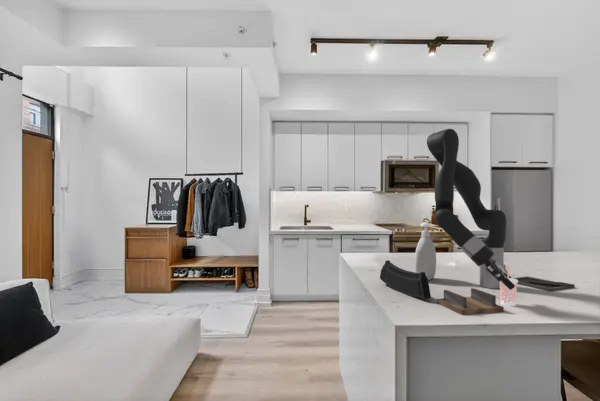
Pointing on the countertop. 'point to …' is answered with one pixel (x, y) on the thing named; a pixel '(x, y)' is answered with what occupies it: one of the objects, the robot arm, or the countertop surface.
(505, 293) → the beverage cup
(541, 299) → the countertop surface
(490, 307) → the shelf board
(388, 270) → the magazine
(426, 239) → the soap bottle
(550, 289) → the picture frame
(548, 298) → the countertop surface
